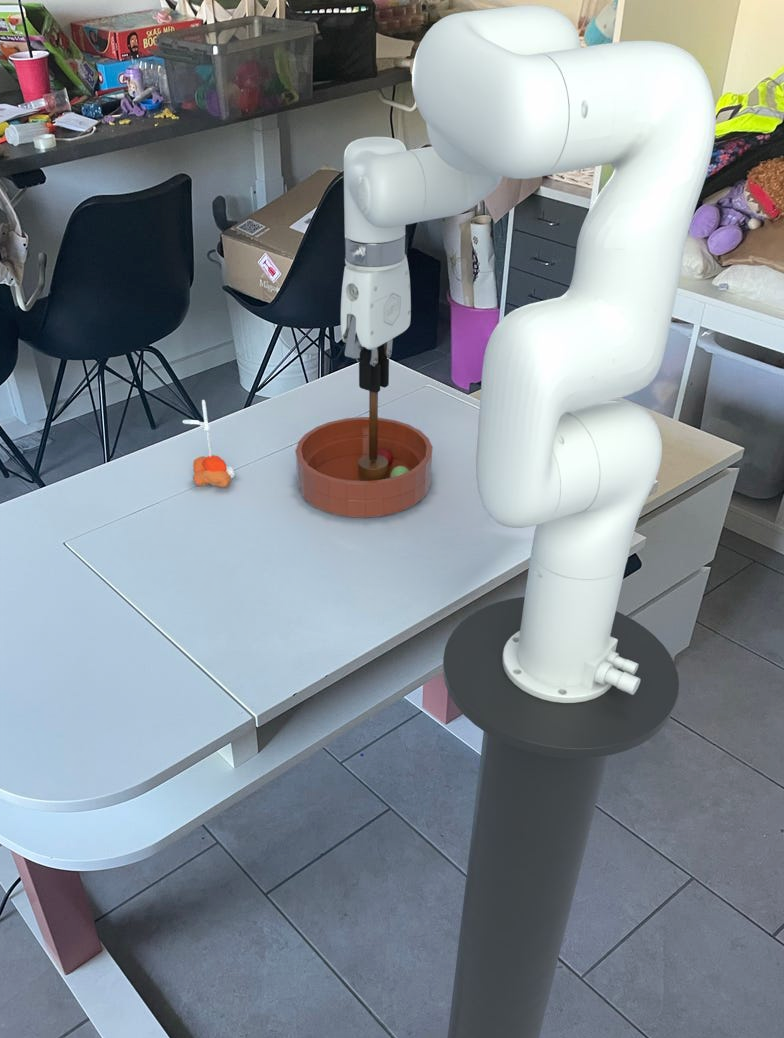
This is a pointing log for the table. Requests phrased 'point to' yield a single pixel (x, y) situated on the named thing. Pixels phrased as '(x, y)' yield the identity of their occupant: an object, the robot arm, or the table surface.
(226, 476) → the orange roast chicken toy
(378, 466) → the wooden masher
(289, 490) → the table surface
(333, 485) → the bowl
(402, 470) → the green bead
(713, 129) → the robot arm
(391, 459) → the red bead
